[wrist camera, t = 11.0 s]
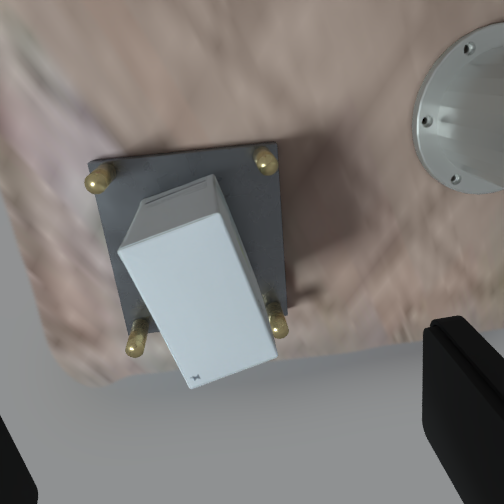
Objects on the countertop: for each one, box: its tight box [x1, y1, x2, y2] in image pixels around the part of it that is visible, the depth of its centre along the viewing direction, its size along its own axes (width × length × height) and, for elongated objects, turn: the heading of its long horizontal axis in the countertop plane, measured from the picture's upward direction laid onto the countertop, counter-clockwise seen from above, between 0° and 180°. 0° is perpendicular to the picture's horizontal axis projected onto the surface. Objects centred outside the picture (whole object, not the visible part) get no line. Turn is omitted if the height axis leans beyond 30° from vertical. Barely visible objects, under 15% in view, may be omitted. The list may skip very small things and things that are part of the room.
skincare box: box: [117, 174, 278, 389], centre depth 30 cm, size 10×6×10 cm, turn 19°
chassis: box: [84, 142, 289, 358], centre depth 34 cm, size 14×15×4 cm
